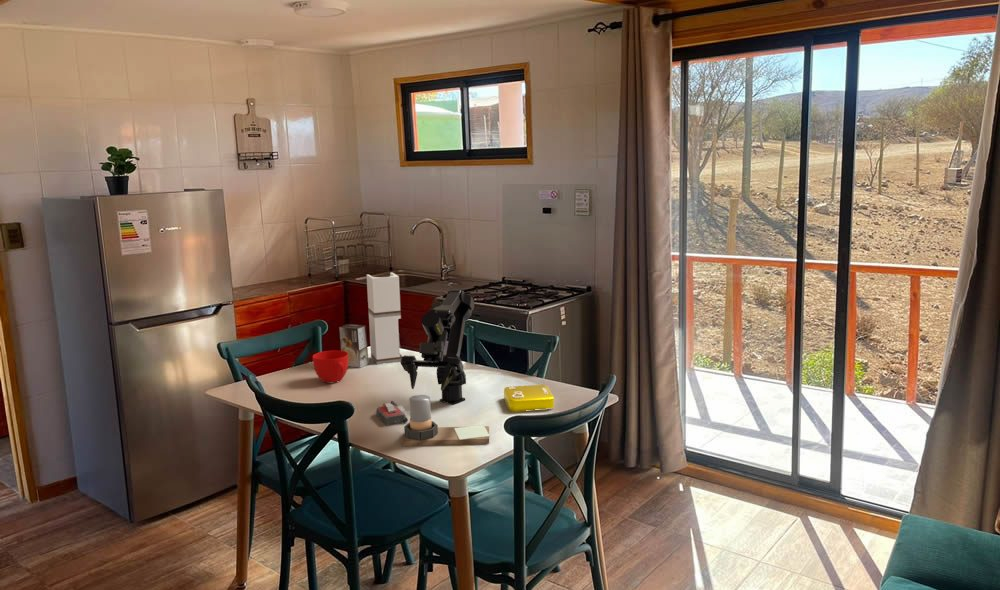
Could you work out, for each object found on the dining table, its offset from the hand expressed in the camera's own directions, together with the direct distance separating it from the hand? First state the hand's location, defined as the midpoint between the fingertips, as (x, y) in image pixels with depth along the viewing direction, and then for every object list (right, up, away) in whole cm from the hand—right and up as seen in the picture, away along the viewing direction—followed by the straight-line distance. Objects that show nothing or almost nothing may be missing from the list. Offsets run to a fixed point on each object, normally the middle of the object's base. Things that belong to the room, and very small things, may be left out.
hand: (426, 389), depth 221 cm
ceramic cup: (-40, -4, +52) cm, 66 cm away
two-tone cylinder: (-1, -13, -5) cm, 13 cm away
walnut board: (+6, -14, -4) cm, 16 cm away
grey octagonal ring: (-1, -13, -5) cm, 13 cm away
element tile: (+32, -8, +24) cm, 41 cm away
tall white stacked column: (-25, +2, +81) cm, 85 cm away
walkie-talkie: (-13, -11, +16) cm, 24 cm away
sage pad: (+14, -12, -4) cm, 19 cm away
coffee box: (-36, 0, +74) cm, 83 cm away
